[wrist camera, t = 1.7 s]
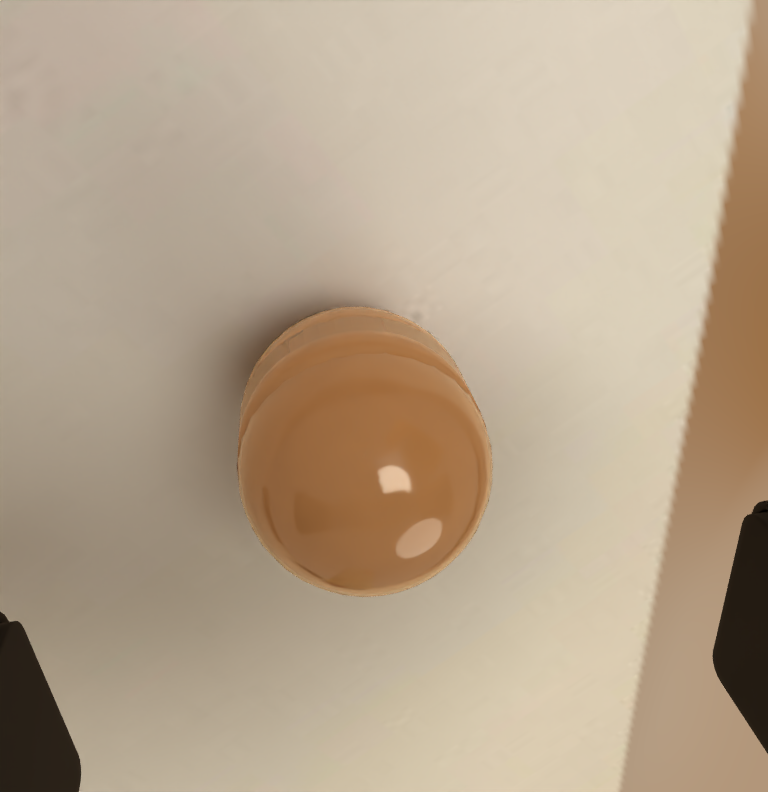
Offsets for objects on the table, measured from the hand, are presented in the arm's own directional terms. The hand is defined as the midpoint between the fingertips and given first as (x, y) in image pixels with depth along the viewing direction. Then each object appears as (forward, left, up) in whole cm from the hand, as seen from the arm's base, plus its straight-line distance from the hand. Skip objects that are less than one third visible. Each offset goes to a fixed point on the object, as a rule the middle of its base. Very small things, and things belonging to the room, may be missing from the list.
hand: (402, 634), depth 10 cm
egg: (0, 0, -7) cm, 7 cm away
